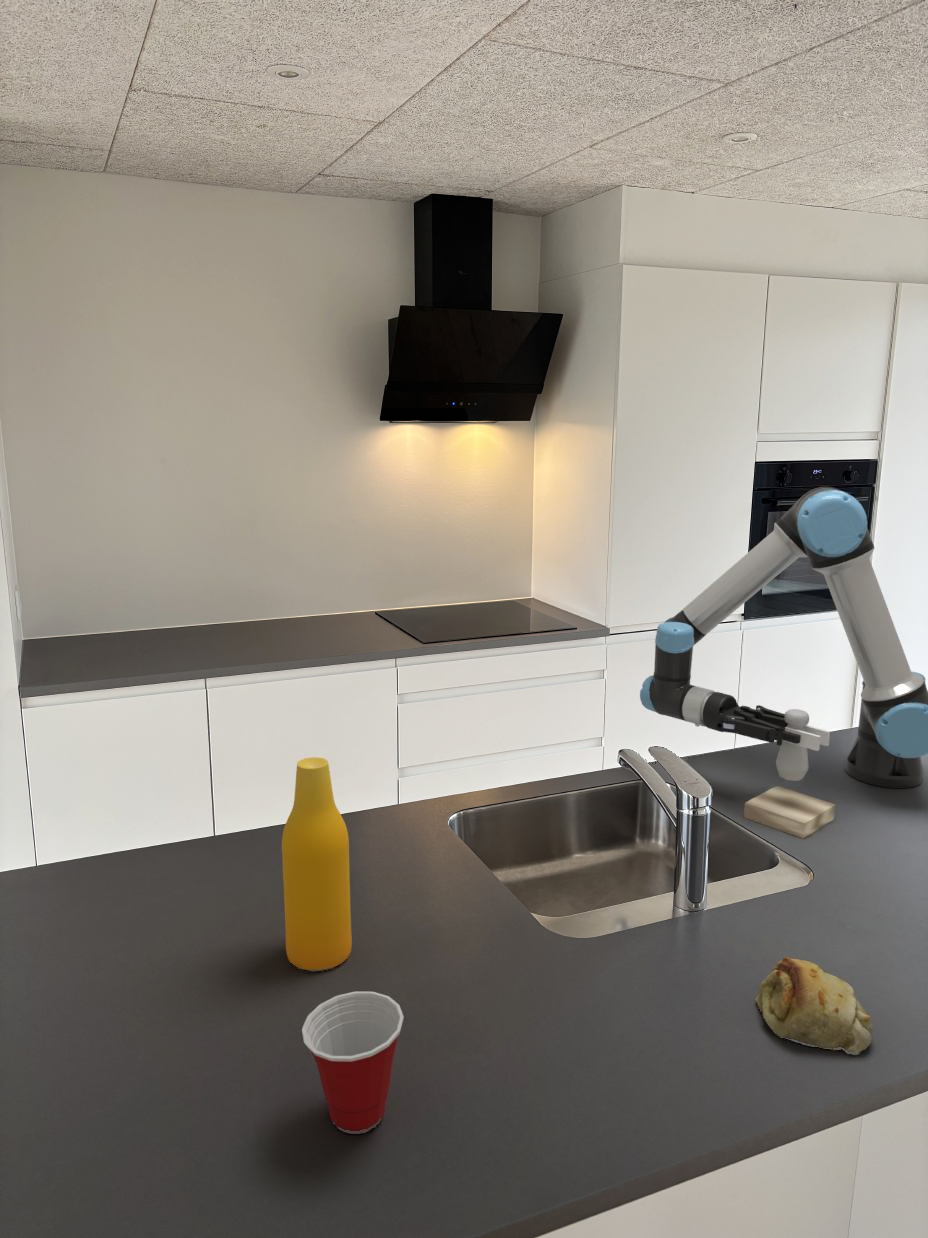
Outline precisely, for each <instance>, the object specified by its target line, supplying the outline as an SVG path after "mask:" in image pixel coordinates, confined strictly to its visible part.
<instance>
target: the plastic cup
mask: <svg viewBox="0 0 928 1238" xmlns="http://www.w3.org/2000/svg"><path fill="white" fill-rule="evenodd" d="M403 1022H404V1013H403V1011H402V1009H401V1006H400V1004H399V1003H397V1002H396V1001H395V1000H394V999H393V998H391V997H390V996H389V995H385V994H384V993H383V994H382V993H379V992H375V991H352V992H348V993H343V994H338V995H335V996H333V997H332V998H330V999H328V1000H326V1001H323V1002H322V1003H320V1004H319V1005H317V1006H316V1008H315V1009H313V1010H312V1011H311V1012H310V1013H309V1014H308V1015H307V1017H306V1019H305V1021H304V1023H303V1026H302V1029H301V1033H302V1038H303V1043H304V1045H305V1046H306V1047H307V1048H308V1050H310V1052H311V1054H312V1056H313V1058H314V1061H315V1064H316V1066H317V1070H318V1074H319V1078H320V1083H321V1086H322V1090H323V1095H324V1097H325V1098H324V1099H325V1101H326V1103H327V1107H328V1111H329V1112H328V1113H329V1116H330V1117H329V1118H330V1120H331V1121H333V1122H334V1123H335V1125H336V1126H337V1127H340V1128H342V1129H344V1130H350V1131H360V1130H363V1129H368V1128H369V1127H371V1126H373V1125H374V1124H376V1123H377V1122H378V1121H379V1119H380V1118H381V1117H382V1116H383V1117H384V1115H385V1112H386V1105H387V1099H388V1095H389V1091H390V1087H391V1086H390V1085H391V1080H392V1075H393V1074H392V1073H393V1072H392V1071H393V1067H394V1062H395V1061H394V1060H395V1052H396V1048H397V1044H398V1037H399V1035H400V1034H401V1029H402V1026H403ZM383 1114H384V1115H383ZM383 1117H382V1118H383ZM333 1122H332V1123H333Z"/></svg>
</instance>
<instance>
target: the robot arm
mask: <svg viewBox="0 0 928 1238" xmlns="http://www.w3.org/2000/svg"><path fill="white" fill-rule="evenodd" d="M867 518H868V517H867V514H866V510H865V509H864V507H863V506H862V503H861V502H860V501H858V499H857V498H855V497H854V496H853V495H851V494H849V493H847V492H845V491H843V490H841V489H839V488H836V487H832V486H819V487H817V488H814V489H811V490H809V491H807V492H806V493H805V494H803V495H802V496H801V497H800V498H798V499H797V501H796V502H795V503H794V504H793V505H792V506H791V507H790V508H789V509H788V511H786V512H785V514H784V515H782V516H781V517H780V518H779V519H778V520H777V521H775V522H774V526H773V531H772V532H770V533H769V534H768V535H766V537H764V538H763V539H762V540H761V541H759V543H757V545H755V546H754V547H753V548H751V549H750V550H749V551H748V552H747V553H746V554H745V555H743V557H741V558H739V560H737V562H735V563H734V564H733V565H732V566H731V567H729V568H728V569H727V570H726V571H725V572H724V573H722V574H721V576H719V577H718V578H717V579H716V580H714V581H713V582H712V583H711V584H710V585H708V586H707V588H705V589H704V590H703V591H702V592H701V593H700V594H698V595H697V596H696V597H695V598H694V599H692V601H691V602H689V603H688V604H687V605H685V607H683V608H682V609H681V610H680V611H679V612H677V613H676V614H675V615H674V616H672V617H669V618H667V619H666V620H665V621H664V622H663V623H659V624H658V625H657V627H656V635H655V639H654V643H655V646H654V649H655V650H654V671H653V675H649V676H648V677H647V678H645V679H644V681H643V682H642V684H641V686H642V687H641V689H640V691H639V700H640V702H641V705H642V706H643V707H644V708H645V709H647V710H649V711H652V712H654V713H656V714H659V715H661V716H666V717H670V718H673V719H677V720H680V721H684V722H687V723H691V724H694V725H695V727H698V728H699V727H706V728H707V729H710V730H713V731H717V732H721V733H729V734H737V735H740V736H744V737H748V738H751V739H754V740H755V739H756V740H759V741H762V742H768V743H770V744H771V743H772V744H773V743H775V741H776V745H777V746H781V745H782V741H783V740H784V742H788V743H791V744H795V745H798V746H802V747H805V748H807V750H808V749H809V750H813V751H815V752H818V751H820V749H821V748H820V746H824V747H829V745H830V737H831V730H826V729H823V728H819V727H815V726H813V725H809V724H807V725H805V732H804V731H801V730H797V729H793V728H790V727H787V725H788V723H786V722H785V719H784V718H785V713H782V712H779V711H776V710H772V709H769V708H767V707H765V706H762V705H760V704H758V705H756V706H755V708H751V707H750V706H746V705H741V706H740V705H739V704H738V702H737V699H736V698H735V697H734V696H733V695H731V694H727V693H723V692H719V691H715V690H713V689H709V688H705V687H701V686H696V685H692V684H691V679H692V678H691V676H692V671H691V670H692V666H693V665H692V663H693V652H694V651H693V650H694V646H695V645H696V644H697V643H699V642H700V641H701V640H702V639H704V637H706V636H707V635H708V634H709V633H710V632H711V631H713V630H714V629H715V628H716V627H717V626H719V625H720V624H721V623H722V622H723V621H724V620H726V619H727V618H728V617H729V616H730V615H732V614H733V613H734V612H735V611H737V609H739V608H740V607H742V606H743V605H744V604H745V603H746V602H748V601H749V600H750V599H751V598H752V597H753V596H755V594H757V593H758V592H759V591H761V590H762V588H764V587H765V586H767V584H769V583H770V582H771V581H772V580H774V579H775V578H776V577H777V576H778V575H779V574H781V573H782V572H783V571H785V569H787V568H788V567H789V566H790V565H792V564H793V563H794V562H795V561H797V560H798V559H799V558H808V560H809V563H810V566H811V568H812V570H813V571H816V572H818V573H820V574H822V575H823V576H824V579H825V582H826V584H827V587H828V589H829V592H830V595H831V597H832V601H833V603H834V605H835V608H836V610H837V613H838V617H839V618H840V621H841V624H842V626H843V629H844V632H845V635H846V637H847V639H848V642H849V645H850V648H851V650H852V653H853V655H854V658H855V661H856V663H857V666H858V669H859V672H860V674H861V677H862V682H861V684H862V691H861V693H860V698H861V699H860V700H861V701H860V709H859V719H858V728H857V730H858V731H857V737H856V738H855V739H854V740H855V741H854V742H853V744H852V746H851V748H850V750H849V752H848V754H847V756H846V760H845V768H844V769H845V772H846V773H847V774H848V775H849V776H851V777H852V778H854V779H855V780H858V781H861V782H864V783H867V784H870V785H874V786H878V787H882V788H892V789H907V788H914V787H918V786H920V785H921V784H922V783H923V780H924V773H925V772H924V771H925V769H924V766H923V762H922V757H923V756H926V755H928V688H927V684H926V677H925V675H924V674H922V673H919V672H915V671H912V669H911V668H910V664H909V662H908V659H907V657H906V654H905V652H904V649H903V646H902V643H901V640H900V638H899V636H898V633H897V630H896V627H895V625H894V621H893V618H892V616H891V614H890V610H889V607H888V605H887V603H886V599H885V597H884V595H883V591H882V589H881V587H880V584H879V581H878V578H877V575H876V573H875V571H874V568H873V565H872V563H871V556H872V554H873V553H874V550H875V549H876V548H875V545H874V543H873V540H872V537H871V534H870V531H869V529H868V520H867Z"/></svg>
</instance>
